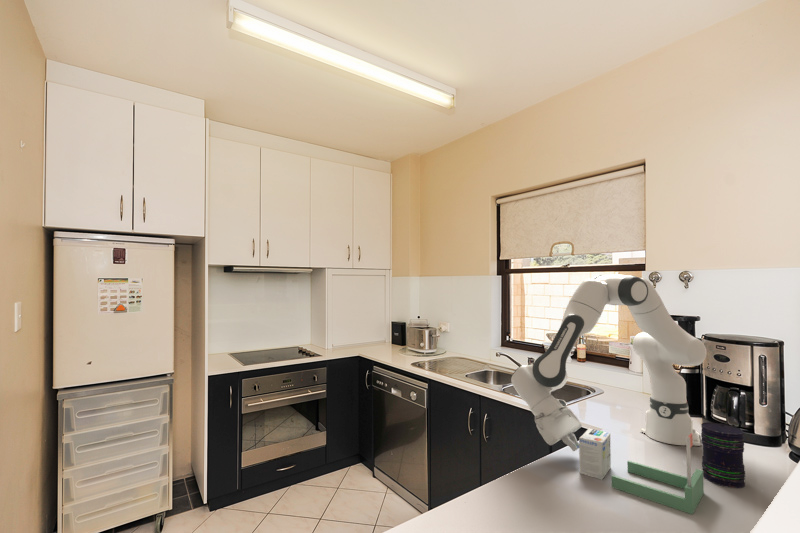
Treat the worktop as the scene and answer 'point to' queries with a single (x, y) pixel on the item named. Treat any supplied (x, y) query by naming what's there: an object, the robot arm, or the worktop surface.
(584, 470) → the light bulb box
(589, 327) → the robot arm
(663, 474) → the putting bay
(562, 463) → the worktop surface
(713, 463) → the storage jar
